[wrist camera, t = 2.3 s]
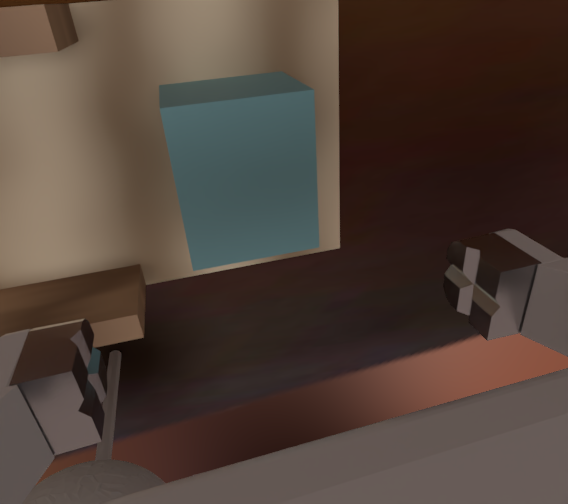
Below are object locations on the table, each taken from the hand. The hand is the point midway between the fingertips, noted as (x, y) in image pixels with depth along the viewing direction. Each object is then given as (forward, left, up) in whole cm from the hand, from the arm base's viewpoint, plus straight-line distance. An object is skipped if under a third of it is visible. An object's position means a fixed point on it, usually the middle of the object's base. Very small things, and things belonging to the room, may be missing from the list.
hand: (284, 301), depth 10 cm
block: (0, 0, -11) cm, 11 cm away
